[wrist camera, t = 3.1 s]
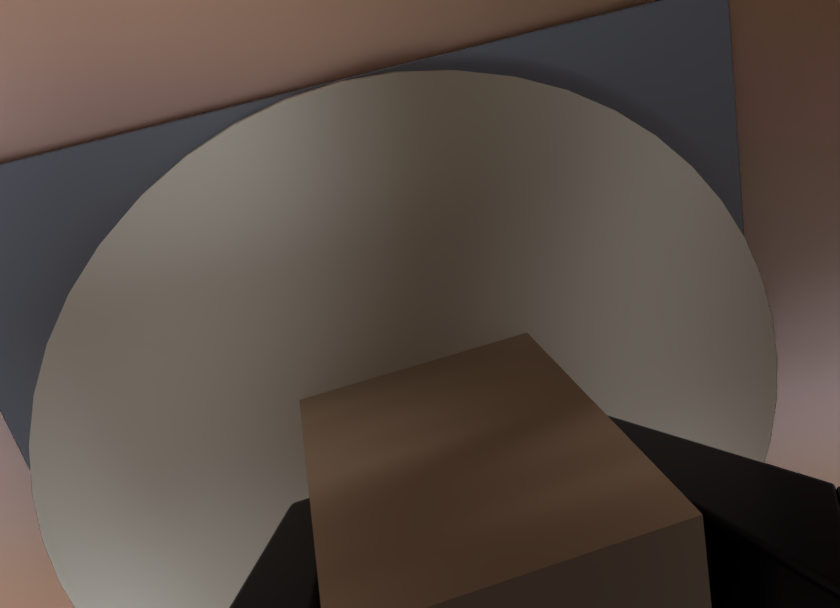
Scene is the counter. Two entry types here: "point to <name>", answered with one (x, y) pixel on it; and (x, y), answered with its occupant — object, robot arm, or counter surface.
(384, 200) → the lid
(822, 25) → the counter surface
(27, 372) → the mat
